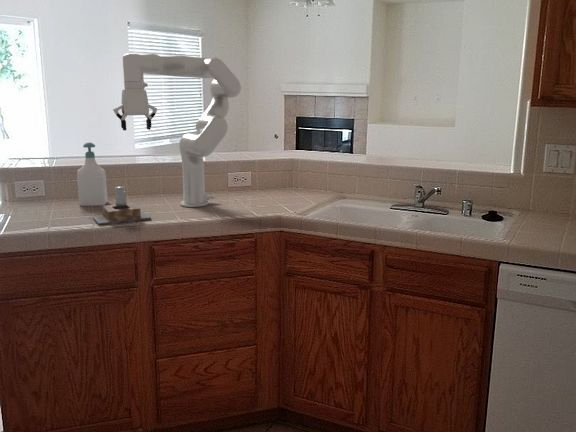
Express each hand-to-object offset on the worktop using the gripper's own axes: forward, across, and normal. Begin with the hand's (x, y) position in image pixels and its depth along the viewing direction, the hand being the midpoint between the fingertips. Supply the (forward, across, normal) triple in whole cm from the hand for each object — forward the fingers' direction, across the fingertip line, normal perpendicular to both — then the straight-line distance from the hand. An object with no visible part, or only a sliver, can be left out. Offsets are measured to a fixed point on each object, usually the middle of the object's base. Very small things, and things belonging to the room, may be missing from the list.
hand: (136, 129), depth 220 cm
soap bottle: (+34, +14, -28) cm, 47 cm away
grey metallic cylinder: (+33, +10, +8) cm, 36 cm away
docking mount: (+34, +10, +8) cm, 37 cm away
